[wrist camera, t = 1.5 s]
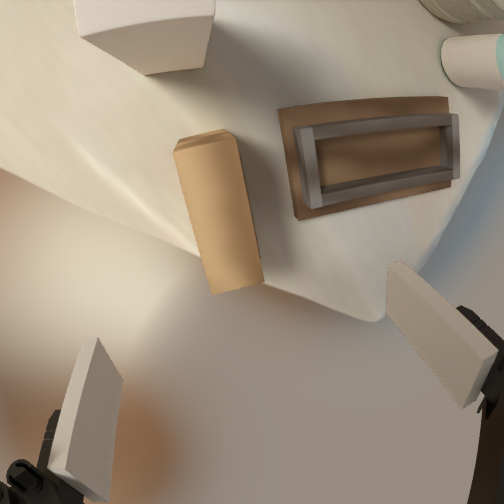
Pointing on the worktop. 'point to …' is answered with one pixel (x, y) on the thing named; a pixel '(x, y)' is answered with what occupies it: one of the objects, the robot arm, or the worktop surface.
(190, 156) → the tan wooden block
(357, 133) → the wooden tray
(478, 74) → the can
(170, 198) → the worktop surface
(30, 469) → the robot arm
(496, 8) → the jar
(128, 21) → the milk
